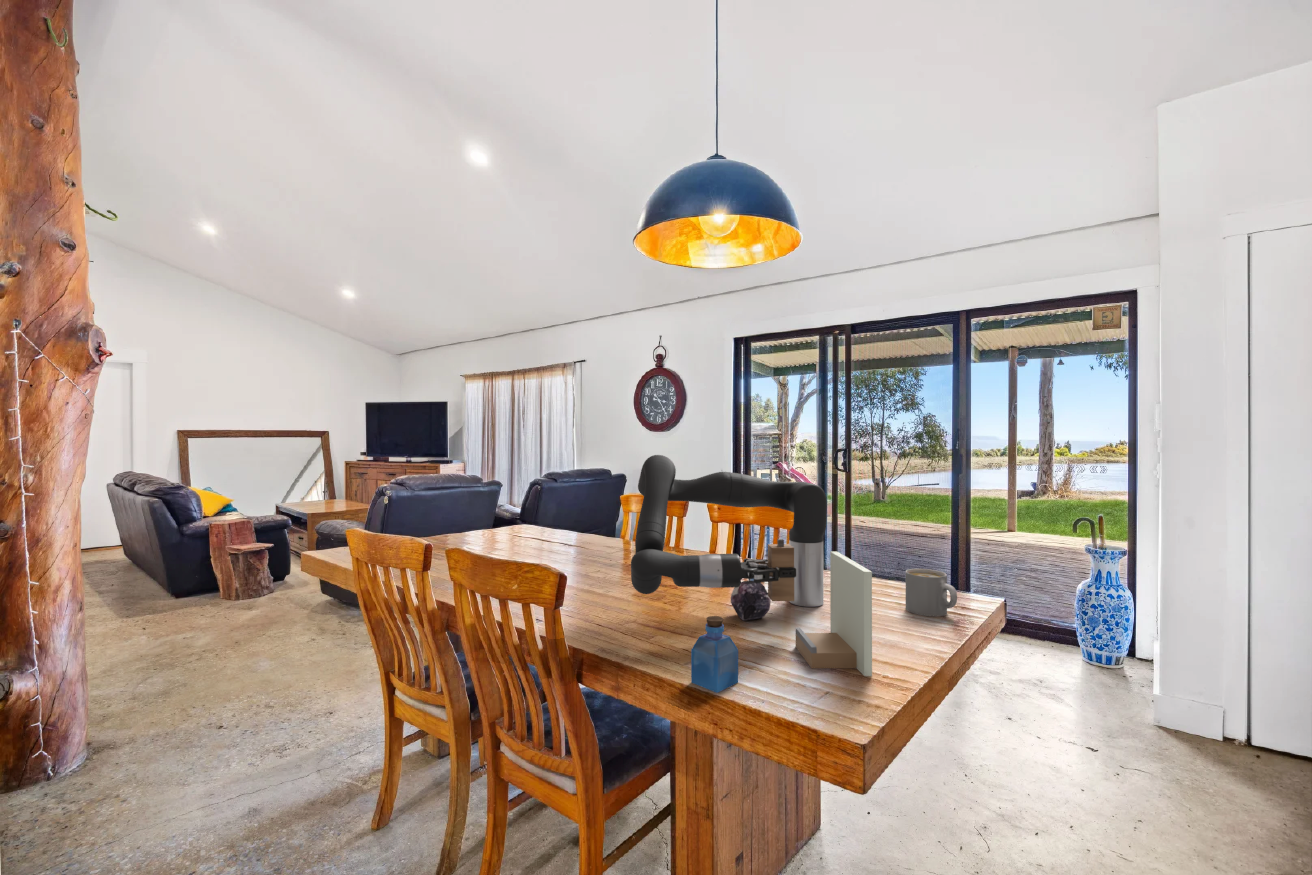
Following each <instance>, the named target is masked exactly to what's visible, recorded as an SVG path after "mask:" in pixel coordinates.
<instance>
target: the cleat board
mask: <svg viewBox="0 0 1312 875" xmlns="http://www.w3.org/2000/svg"><path fill="white" fill-rule="evenodd" d="M829 559H830V560H829V561H830V565H829V566H830V569H829V570H830V573H829V574H830V575H829V576H830V577H829V579H830V580H829V581H830V586H829V587H830V589H829V590H830V598H829V599H830V604H829V606H830V607H829V608H830V610H829V611H830V617H829V618H830V622H829V623H830V628H829V629H830V632H804V630H803V629H802V628H801V627H795V649H797V651H798V652H799V654H800V655H801V656H802V657H803V659H804V660H805V662H806V663H807V664H808V665H809V668H811V669H857V670H858V671H859V672H860V673H861V675H863V676H864V677H872V676H873V572H872V571H871V570H870V569H868V568H867V567H864V566H862V565H861V564H859V563H858V562H856V561H854V560H852V559H850V558H849V557H848V556H846V555H844V554H843V553H840V552H839V551H830V556H829Z"/></svg>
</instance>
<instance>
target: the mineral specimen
mask: <svg viewBox="0 0 1312 875" xmlns="http://www.w3.org/2000/svg"><path fill="white" fill-rule="evenodd" d="M771 603H772V600H771V599H770V598H769V597H768V590H767V589H766V587H765V586H764V584H763V582H761V583H754V581H749V580H744V581H741V584H740V586H739V587H733V590H732V592H731V594H730V604H731V607H732V608H733V610H734V611H735V614H737V616H738V618H739V619H740V620H742V621H743V622H744V621H752V620H753V621H754V620H758V619H759V620H760V619H762V618H764V617H765V616H766V615H767V614H768V612H769V611H770V609H771Z"/></svg>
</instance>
